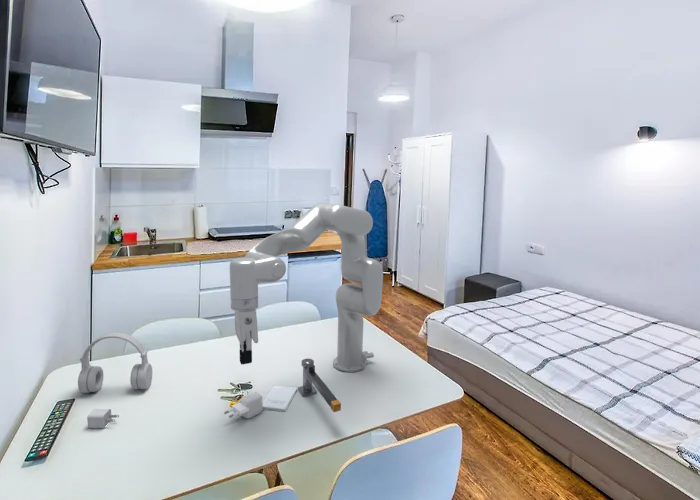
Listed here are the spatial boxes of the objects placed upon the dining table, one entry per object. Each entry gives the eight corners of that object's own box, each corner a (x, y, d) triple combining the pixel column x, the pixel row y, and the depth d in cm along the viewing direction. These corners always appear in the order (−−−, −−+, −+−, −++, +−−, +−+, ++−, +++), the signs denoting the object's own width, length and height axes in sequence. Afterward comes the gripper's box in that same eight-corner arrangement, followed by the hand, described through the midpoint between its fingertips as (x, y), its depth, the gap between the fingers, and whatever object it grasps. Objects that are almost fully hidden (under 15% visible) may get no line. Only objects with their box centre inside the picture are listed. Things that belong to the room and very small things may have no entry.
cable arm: (299, 370, 134) (299, 359, 134) (311, 368, 136) (311, 357, 135) (330, 413, 111) (330, 400, 111) (343, 409, 113) (344, 397, 112)
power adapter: (231, 429, 114) (231, 410, 113) (222, 422, 117) (221, 403, 116) (264, 413, 122) (264, 395, 121) (255, 406, 125) (254, 389, 124)
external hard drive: (297, 392, 135) (285, 413, 123) (273, 389, 136) (259, 410, 124) (297, 387, 135) (285, 408, 123) (273, 385, 136) (259, 405, 124)
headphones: (154, 380, 139) (150, 327, 135) (146, 394, 131) (142, 338, 127) (90, 384, 135) (84, 330, 132) (78, 398, 127) (71, 341, 123)
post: (312, 386, 138) (312, 361, 136) (317, 393, 134) (317, 367, 132) (297, 389, 136) (298, 363, 134) (302, 396, 131) (302, 370, 130)
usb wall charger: (96, 420, 117) (95, 407, 116) (121, 420, 117) (120, 407, 116) (88, 429, 113) (86, 416, 112) (113, 429, 113) (112, 416, 112)
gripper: (264, 308, 109) (264, 371, 112) (252, 293, 122) (253, 350, 125) (235, 312, 106) (237, 376, 109) (226, 295, 119) (228, 354, 122)
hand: (245, 362), depth 117 cm, fingers closed
